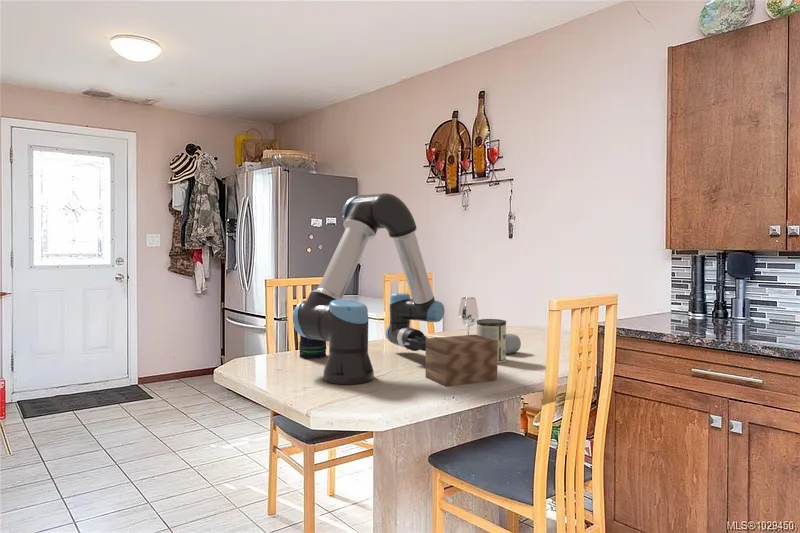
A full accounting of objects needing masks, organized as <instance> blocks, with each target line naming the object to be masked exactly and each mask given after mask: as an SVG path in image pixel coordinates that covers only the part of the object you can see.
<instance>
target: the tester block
mask: <svg viewBox="0 0 800 533" xmlns="http://www.w3.org/2000/svg"><path fill="white" fill-rule="evenodd" d="M497 359H498V340H494V339H491V338H487V337H483V336H479V335H477V334H469V335H467V334H465V335H453V336H451V335H450V336H440V337H436V338H435V337H427V338H426V351H425V378H426V379H429V380H430V381H432V382H434V381H435V383H437V384H439V385H441V386H444V387H451V386H452V387H453V386H459V385H467V384H469V385H470V384H477V383H484V382H492V381H498V363H497Z"/></svg>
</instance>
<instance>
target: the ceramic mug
mask: <svg viewBox="0 0 800 533" xmlns="http://www.w3.org/2000/svg"><path fill="white" fill-rule="evenodd" d="M521 346H522V343H521V339H520V337H519V336H518V335H517V334H515V333H506V355H507V354H514V353H517V352H518V351H519V350H520V349H521Z"/></svg>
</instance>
